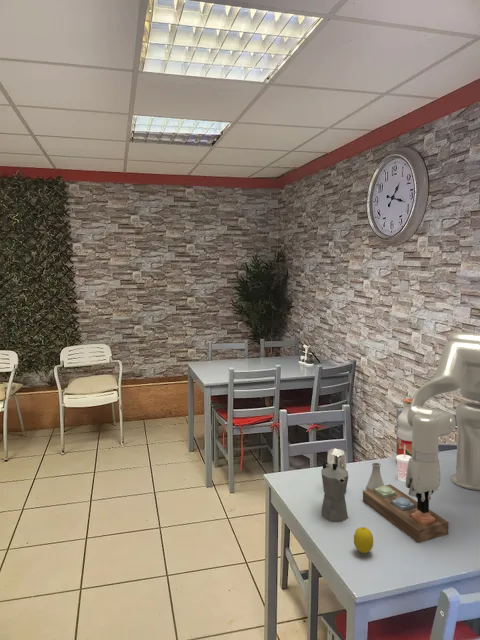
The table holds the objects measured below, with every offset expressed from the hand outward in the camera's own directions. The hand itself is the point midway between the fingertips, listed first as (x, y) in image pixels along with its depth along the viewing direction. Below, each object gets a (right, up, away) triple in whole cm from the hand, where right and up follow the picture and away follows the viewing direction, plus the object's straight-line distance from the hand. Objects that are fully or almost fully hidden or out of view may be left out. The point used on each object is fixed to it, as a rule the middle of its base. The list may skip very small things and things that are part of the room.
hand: (422, 510), depth 143 cm
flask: (-6, -4, +28) cm, 29 cm away
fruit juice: (+13, -1, +49) cm, 51 cm away
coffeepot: (-26, -6, +12) cm, 29 cm away
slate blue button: (-3, -3, +9) cm, 10 cm away
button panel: (-3, -6, +9) cm, 11 cm away
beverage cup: (+7, -3, +36) cm, 36 cm away
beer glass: (-21, -4, +28) cm, 35 cm away
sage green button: (-6, -2, +17) cm, 19 cm away
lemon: (-21, -9, -10) cm, 25 cm away
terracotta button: (0, -4, +1) cm, 4 cm away
